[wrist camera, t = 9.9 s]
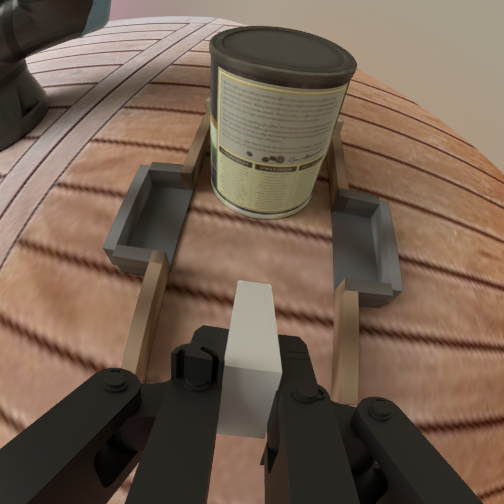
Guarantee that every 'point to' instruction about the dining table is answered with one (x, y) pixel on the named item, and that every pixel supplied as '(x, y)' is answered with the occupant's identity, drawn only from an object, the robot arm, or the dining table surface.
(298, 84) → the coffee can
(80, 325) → the dining table surface
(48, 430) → the robot arm
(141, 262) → the box
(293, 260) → the dining table surface
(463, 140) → the dining table surface
